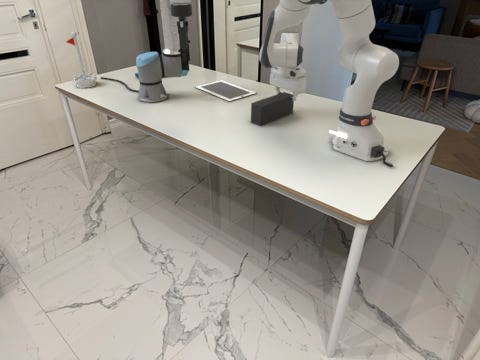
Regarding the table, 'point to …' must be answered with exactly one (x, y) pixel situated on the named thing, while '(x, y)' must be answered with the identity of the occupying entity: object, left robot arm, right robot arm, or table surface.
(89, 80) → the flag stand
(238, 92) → the tablet
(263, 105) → the box
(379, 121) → the table surface
